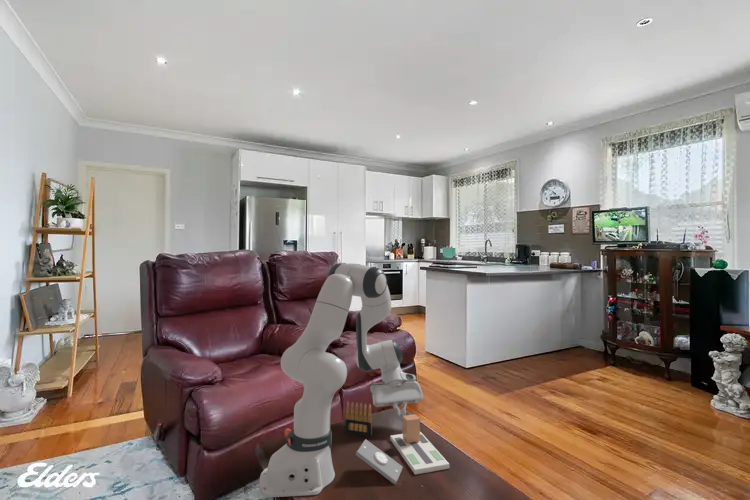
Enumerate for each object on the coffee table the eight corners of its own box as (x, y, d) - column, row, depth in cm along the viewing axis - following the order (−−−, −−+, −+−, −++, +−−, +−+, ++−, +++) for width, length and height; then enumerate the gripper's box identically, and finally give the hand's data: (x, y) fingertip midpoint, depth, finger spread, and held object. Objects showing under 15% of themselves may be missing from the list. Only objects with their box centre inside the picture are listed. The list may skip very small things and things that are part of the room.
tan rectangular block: (406, 443, 134) (406, 420, 134) (402, 437, 138) (402, 415, 138) (419, 441, 135) (419, 418, 135) (415, 436, 139) (415, 414, 139)
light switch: (398, 479, 112) (358, 449, 116) (388, 495, 113) (349, 464, 117) (404, 464, 121) (366, 436, 124) (395, 479, 121) (358, 450, 125)
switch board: (414, 474, 118) (414, 469, 118) (390, 439, 140) (390, 435, 140) (449, 468, 121) (449, 463, 121) (420, 435, 143) (420, 430, 143)
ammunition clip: (372, 434, 144) (373, 402, 144) (371, 436, 142) (371, 404, 142) (346, 430, 147) (346, 399, 147) (344, 432, 145) (345, 401, 145)
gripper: (370, 379, 149) (378, 414, 139) (418, 374, 155) (428, 408, 146) (367, 387, 153) (374, 421, 144) (414, 382, 159) (424, 415, 150)
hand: (402, 414), depth 145 cm, fingers closed
